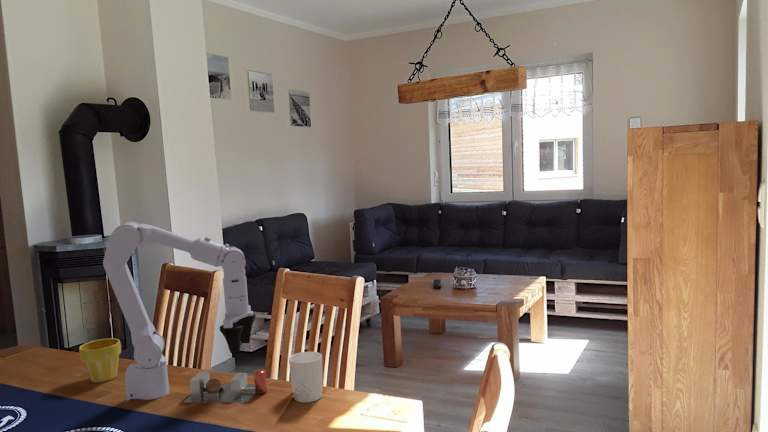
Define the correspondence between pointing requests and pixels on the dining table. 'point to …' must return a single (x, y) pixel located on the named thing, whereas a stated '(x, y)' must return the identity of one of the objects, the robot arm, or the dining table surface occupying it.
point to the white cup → (306, 376)
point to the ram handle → (241, 382)
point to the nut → (213, 385)
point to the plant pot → (101, 358)
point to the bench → (223, 395)
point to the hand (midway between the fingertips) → (240, 347)
